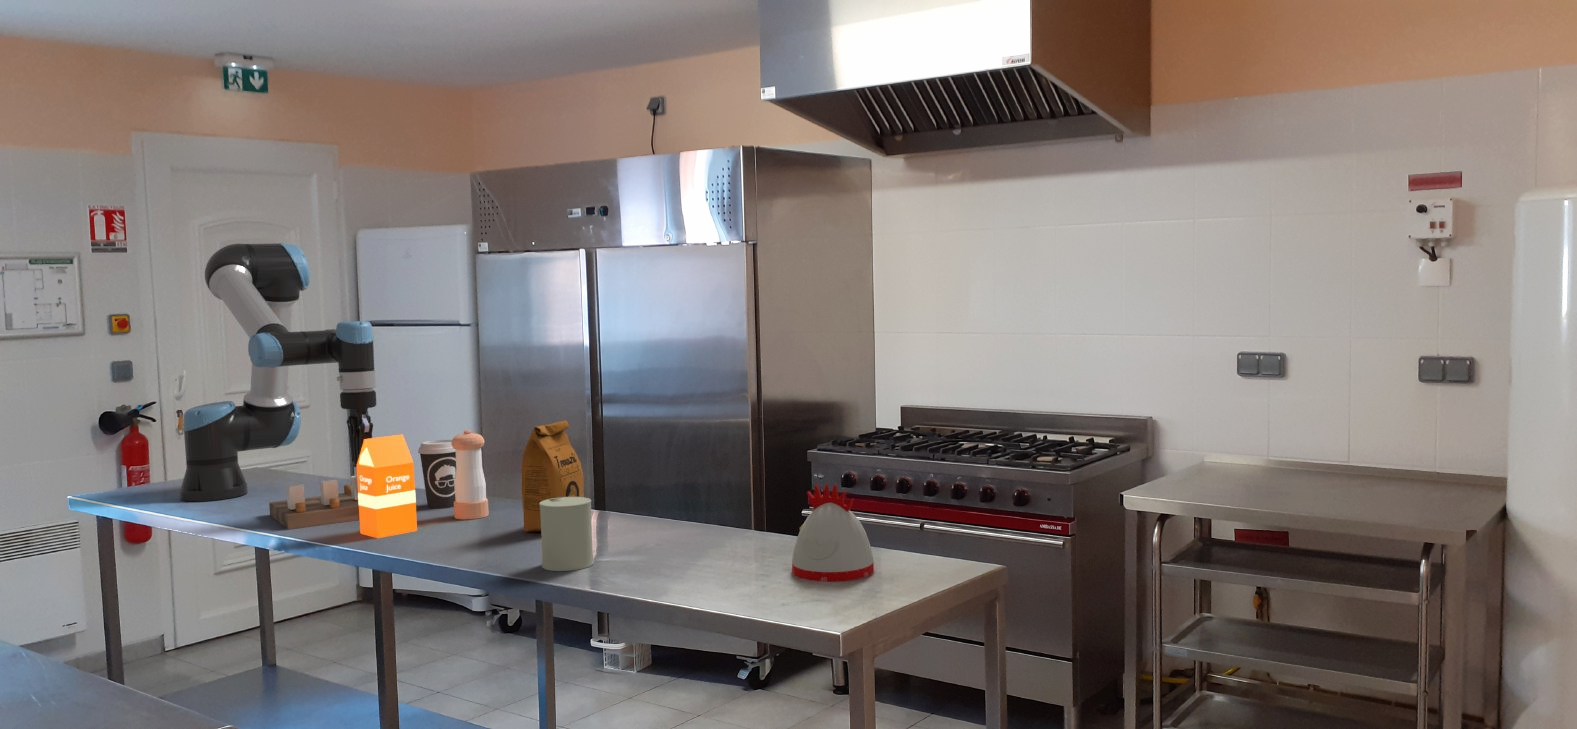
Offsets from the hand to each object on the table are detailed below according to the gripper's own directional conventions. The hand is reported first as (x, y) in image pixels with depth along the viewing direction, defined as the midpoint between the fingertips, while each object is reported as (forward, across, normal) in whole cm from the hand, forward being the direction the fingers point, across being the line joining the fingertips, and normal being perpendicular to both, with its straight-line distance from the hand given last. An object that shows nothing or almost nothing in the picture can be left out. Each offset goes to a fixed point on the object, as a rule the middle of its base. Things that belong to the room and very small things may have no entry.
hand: (363, 494), depth 253 cm
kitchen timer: (+5, +110, +49) cm, 120 cm away
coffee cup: (+5, +2, +17) cm, 18 cm away
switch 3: (+1, -3, 0) cm, 4 cm away
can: (+5, +75, +16) cm, 77 cm away
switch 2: (+1, -1, -7) cm, 7 cm away
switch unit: (+5, -5, -7) cm, 10 cm away
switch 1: (+1, -1, -14) cm, 14 cm away
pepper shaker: (+5, +19, +18) cm, 26 cm away
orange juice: (+5, +23, -1) cm, 23 cm away
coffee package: (+5, +44, +27) cm, 52 cm away
